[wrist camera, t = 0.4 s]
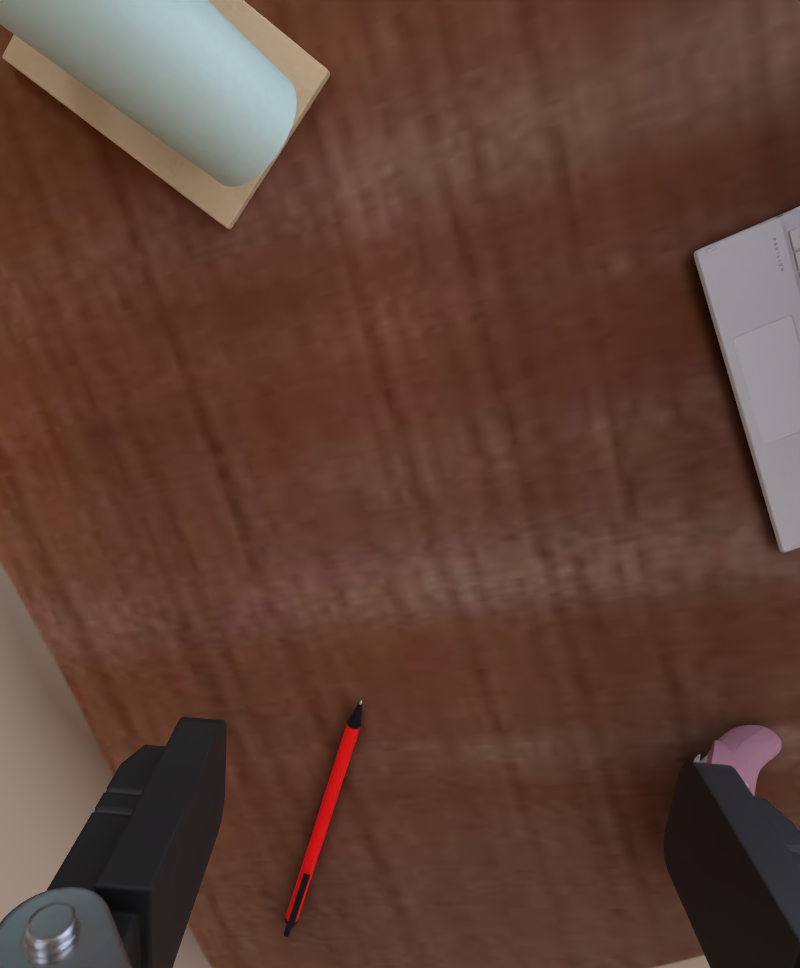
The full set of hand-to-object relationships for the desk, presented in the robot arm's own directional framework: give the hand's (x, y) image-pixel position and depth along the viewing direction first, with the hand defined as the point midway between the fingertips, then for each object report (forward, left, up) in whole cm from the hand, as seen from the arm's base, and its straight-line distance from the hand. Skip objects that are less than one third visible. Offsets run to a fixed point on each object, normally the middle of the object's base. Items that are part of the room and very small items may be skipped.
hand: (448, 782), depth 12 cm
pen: (+26, -3, -28) cm, 39 cm away
